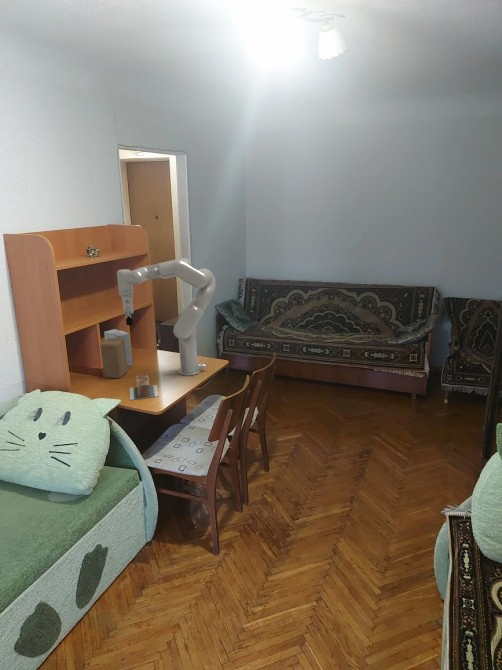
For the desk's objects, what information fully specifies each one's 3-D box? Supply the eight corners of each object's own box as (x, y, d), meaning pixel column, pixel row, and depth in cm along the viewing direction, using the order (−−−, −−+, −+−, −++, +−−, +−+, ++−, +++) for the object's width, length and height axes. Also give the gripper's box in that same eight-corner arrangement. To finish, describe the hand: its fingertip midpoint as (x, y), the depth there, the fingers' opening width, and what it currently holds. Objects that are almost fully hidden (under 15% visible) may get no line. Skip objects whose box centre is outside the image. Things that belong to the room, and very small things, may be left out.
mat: (157, 385, 240) (157, 384, 240) (159, 396, 228) (158, 395, 227) (129, 388, 237) (129, 388, 237) (130, 400, 224) (130, 399, 224)
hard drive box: (133, 365, 269) (129, 333, 263) (122, 369, 263) (118, 336, 257) (118, 359, 279) (114, 328, 272) (107, 363, 273) (103, 331, 267)
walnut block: (148, 374, 239) (149, 384, 226) (149, 385, 240) (150, 395, 227) (136, 375, 237) (137, 386, 224) (137, 386, 239) (138, 397, 226)
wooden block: (120, 378, 250) (116, 344, 244) (103, 377, 252) (99, 343, 246) (128, 372, 259) (124, 338, 253) (112, 371, 261) (108, 337, 255)
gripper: (133, 294, 242) (136, 327, 247) (133, 289, 256) (136, 320, 261) (119, 295, 240) (122, 329, 246) (119, 290, 254) (122, 321, 259)
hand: (129, 324), depth 253 cm, fingers closed
